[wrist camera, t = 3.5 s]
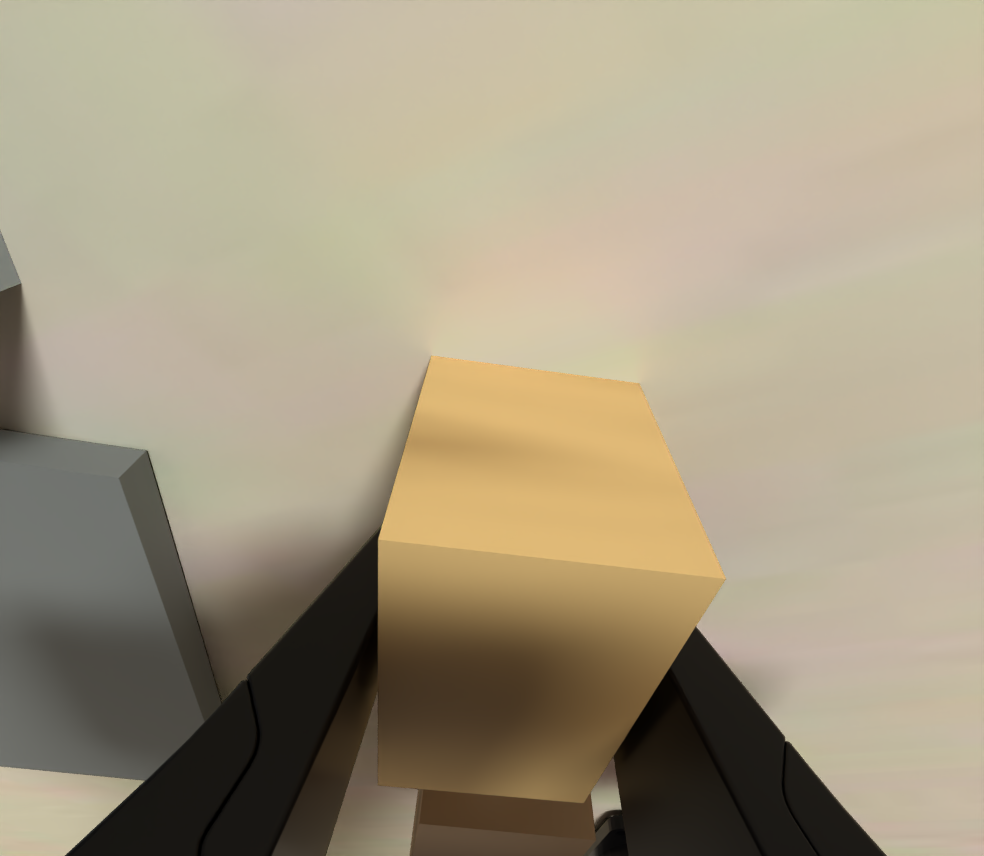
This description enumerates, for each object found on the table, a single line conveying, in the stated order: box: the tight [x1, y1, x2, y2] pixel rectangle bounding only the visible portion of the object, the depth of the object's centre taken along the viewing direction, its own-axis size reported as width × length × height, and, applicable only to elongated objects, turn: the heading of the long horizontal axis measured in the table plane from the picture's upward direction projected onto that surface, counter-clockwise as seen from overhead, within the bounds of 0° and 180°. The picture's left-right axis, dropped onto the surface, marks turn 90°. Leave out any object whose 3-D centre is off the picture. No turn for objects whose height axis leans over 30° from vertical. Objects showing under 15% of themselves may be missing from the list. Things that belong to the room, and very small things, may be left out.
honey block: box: [378, 356, 726, 803], centre depth 8 cm, size 6×4×4 cm, turn 172°
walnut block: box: [410, 789, 596, 856], centre depth 13 cm, size 6×4×4 cm, turn 171°
